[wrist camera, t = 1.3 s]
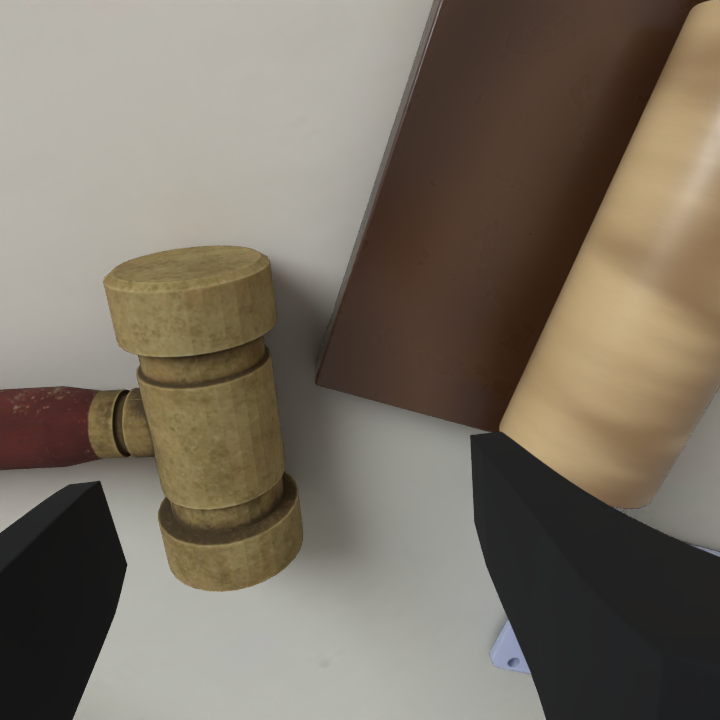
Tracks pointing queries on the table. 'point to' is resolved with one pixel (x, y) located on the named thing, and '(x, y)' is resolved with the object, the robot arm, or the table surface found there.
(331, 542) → the table surface
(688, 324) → the rolling pin
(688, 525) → the table surface
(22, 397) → the gavel
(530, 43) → the pastry board
